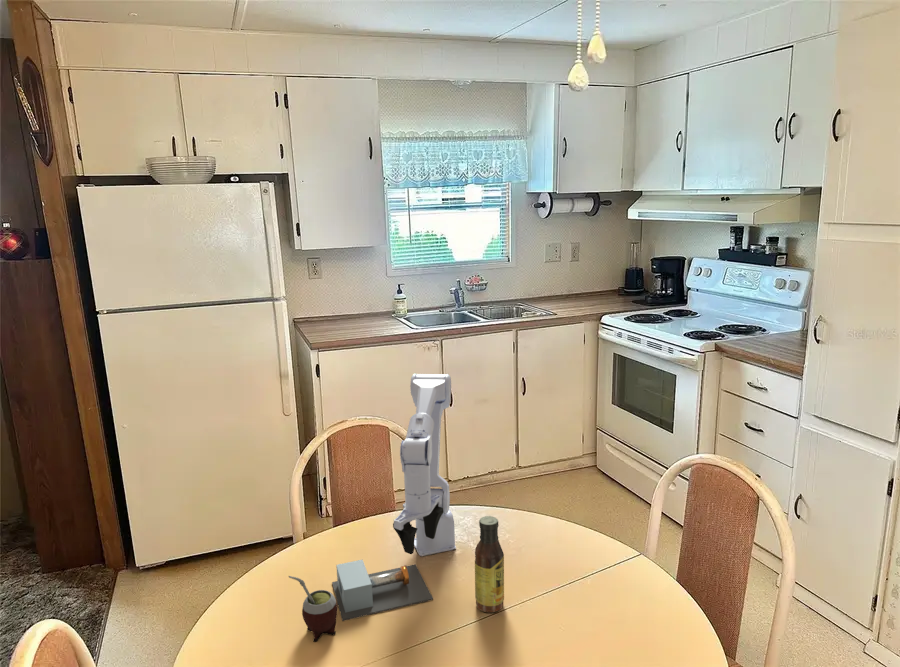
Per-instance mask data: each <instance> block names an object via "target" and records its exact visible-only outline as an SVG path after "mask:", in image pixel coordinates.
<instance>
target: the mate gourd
mask: <svg viewBox="0 0 900 667" xmlns="http://www.w3.org/2000/svg"><path fill="white" fill-rule="evenodd" d="M288 578H289V579H292V580H294V581H297V582H299V584H300V586H301V587H303V588H302V589H303V590H304V593H306V597H305V599H304V600H303V603H302V609H301V612H302V613H301V614H302V619H303V622H304V623H305V625H306V627H307V628H306V630H307V631H308V632H311V631H312V636H313V639H312V642H313V643H317V642H318V640H320V638H321V637H322V636H323V635H329V636H336V634H337V631H336V627H337V626H336V625H337V617H338V610H339V607H338V603H337V600H336V596H334V595H333V593H331V591H329V590H326V589H319V590H314V591H312V592H309V590H308V588H307V586H306V582H305V581H304V580H302V579H301V578H299V577H296V576H291V575H288Z"/></svg>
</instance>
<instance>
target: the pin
mask: <svg viewBox="0 0 900 667" xmlns="http://www.w3.org/2000/svg"><path fill="white" fill-rule="evenodd" d="M406 566H407V565H401V566H400V567H399V568H400V571H396V572H391V573H386V574H382V575H377V576H373V577H369V578H370V581H371V583H372V588H376V587H380V586H385V585H389V584H393V583H398V582H402V583H403V585H406V584H409V575H408V570H407V567H406Z"/></svg>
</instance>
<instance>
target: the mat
mask: <svg viewBox="0 0 900 667" xmlns="http://www.w3.org/2000/svg"><path fill="white" fill-rule="evenodd" d="M405 566H406V567H407V570H408V575H409V584H406V585H403V583H402V582H398V583H393V584H389V585H385V586H380V587H376V588H372V597H373V606H372V607H368V608H363V609H359V610H355V611H350V612H346V613H345V610H344V606H343V603H342V599H341V596H340V592H339V588H338V581H337V580H335V581H332V582H331V584H332V585H331V586H332V588H333V592H334V595H335V596H334V597H335V599H336V602H337V606H338V610H339V613H340V618H341V621H342V622H345V621H348V620H349V621H350V620H354V619H358V618H362V617H365V616H370V615H374V614H379V613H384V612H387V611H392V610H396V609H400V608H403V607H408V606H413V605H417V604H421V603H425V602H430V601H434V596H433V595H432V594H431V593H432V592H431V591H430V589H429V587H428V585H427V583H426V582H425V580H424V578H423V576H422V574H421V572H420V570H419V568H418V566H417V564H410V565H409V564H408V565H405ZM396 571H400V567H396V568H391V569H387V570H382V571H377V572H372V573H368V575H369V577H373V576H377V575H382V574H386V573H391V572H396Z"/></svg>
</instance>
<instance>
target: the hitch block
mask: <svg viewBox="0 0 900 667" xmlns="http://www.w3.org/2000/svg"><path fill="white" fill-rule="evenodd" d="M335 565H336V566H335V567H336V576H337V577H336V578H337V579H336V581H338V588H339V592H340V596H341V599H342V603H343V606H344V610H345V613H346V612H350V611H355V610H359V609H363V608H368V607H372V606H373V597H372V583H371V581H370V578H369V575H368V574H369V573H368V570H367V568H366V565H365V561H364V560H363V559H359V560H353V561H348V562H344V563H338V564H335Z"/></svg>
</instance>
